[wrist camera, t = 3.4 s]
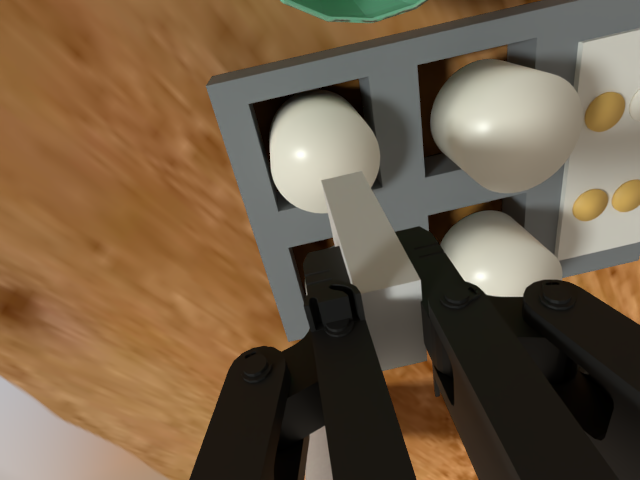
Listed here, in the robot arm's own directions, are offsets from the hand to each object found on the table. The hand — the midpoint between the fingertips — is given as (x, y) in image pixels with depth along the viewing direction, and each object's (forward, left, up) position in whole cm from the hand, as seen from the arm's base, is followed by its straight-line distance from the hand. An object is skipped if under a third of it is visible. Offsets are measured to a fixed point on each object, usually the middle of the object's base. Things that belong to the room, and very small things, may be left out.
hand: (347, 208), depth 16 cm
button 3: (+10, +9, -8) cm, 16 cm away
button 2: (+1, 0, -11) cm, 11 cm away
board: (+5, +8, -12) cm, 15 cm away
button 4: (+1, +9, -8) cm, 12 cm away
